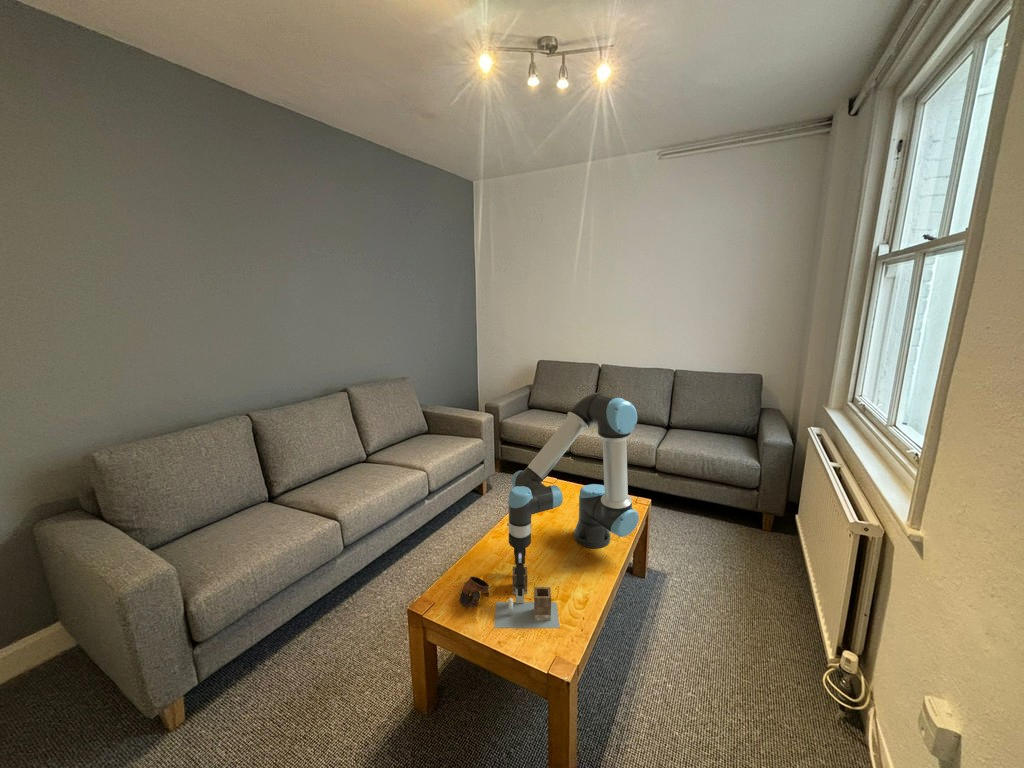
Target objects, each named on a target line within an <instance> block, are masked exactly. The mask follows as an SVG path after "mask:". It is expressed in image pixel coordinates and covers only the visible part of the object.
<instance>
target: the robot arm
mask: <svg viewBox="0 0 1024 768" xmlns="http://www.w3.org/2000/svg"><path fill="white" fill-rule="evenodd" d="M637 423H638V412H637V409H636V407H635V406H634V405H633V403H632V402H630V401H627V400H625V399H624V398H621V397H615V396H612V395H608V394H605V393H602V392H593V393H590V394H589V393H588V394H587V395H586V396H583V397H582V398H581V399H580V400H578V401H577V402H576V403H575V404H574V405H573V406H572V407H571V408H570V410H569V411H568V412H567V418H566V419H565V420H564V421H563V422H562V424H561V425H560V426H559V427H558V428H557V430H556V431H555V432H554V434H553V435H552V436H551V437H550V438H549V439H548V441H547V442H546V443H545V444H544V446H543V447H542V448H540V450H539V451H538V453H537V454H536V456H535V457H534V458H533V459H532V461H531V462H530V463H529V464H528V466H526V468H525V469H524V470H518V471H516V472H515V473H513V475H512V477H511V481H510V483H511V486H512V488H511V489H509V492H508V500H507V504H508V505H507V506H508V522H507V523H506V526H507V527H508V545H510V547H512V548H513V554H514V564H515V567H516V585H514V587H516V594H515V602H516V603H524V602H525V594H524V567H525V565H526V564H525V563H526V548H528V547H530V545H531V542H532V515H535V514H539V513H542V512H547V511H550V510H553V509H556V508H558V507H560V506H561V505H562V504H563V500H564V495H563V492H562V490H561V488H560V487H559V486H558V485H556V484H552V485H551V484H550V485H548V486H547V485H545V484H544V483H543V481H544V480H545V478H546V477H547V476H548V474H549V473H550V472H551V471H552V469H553V468H554V467H555V466H556V464H557V463H558V462H559V460H560V459H561V458H562V457H563V456H564V454H565V453H566V452H567V451H568V449H569V448H570V447H571V446H572V445H573V444H574V442H575V440H576V439H577V438H578V437H579V435H580V434H582V432H583V431H584V430H587V429H589V428H590V426H591V425H593V424H596V425H597V434H598V437H600V438H601V439H602V459H603V461H602V462H603V484H598V483H597V484H596V483H591V484H586V485H583V486H582V487H581V488H580V490H579V495H578V521H577V523H576V526H575V528H574V530H573V531H574V532H573V538H574V540H575V541H576V542H577V544H579V545H581V546H583V547H585V548H590V549H601V548H605V547H607V546H608V545H609V544H610V543H611V534H614V535H615V536H617V537H621V538H623V537H628V536H629V535H631V534H632V532H633V531H635V529H636V528H637V527H638V524H639V520H640V516H639V515H640V514H639V512H637V510H636V509H634V508H633V500H632V499H633V498H632V497H631V496H630V495H629V494H628V493H629V491H628V490H629V489H628V488H629V487H628V457H627V455H628V453H627V452H628V450H627V449H628V447H627V444H628V443H627V438H629V436H631V433H632V432H633V431H634V429H635V427H636V425H637Z"/></svg>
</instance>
